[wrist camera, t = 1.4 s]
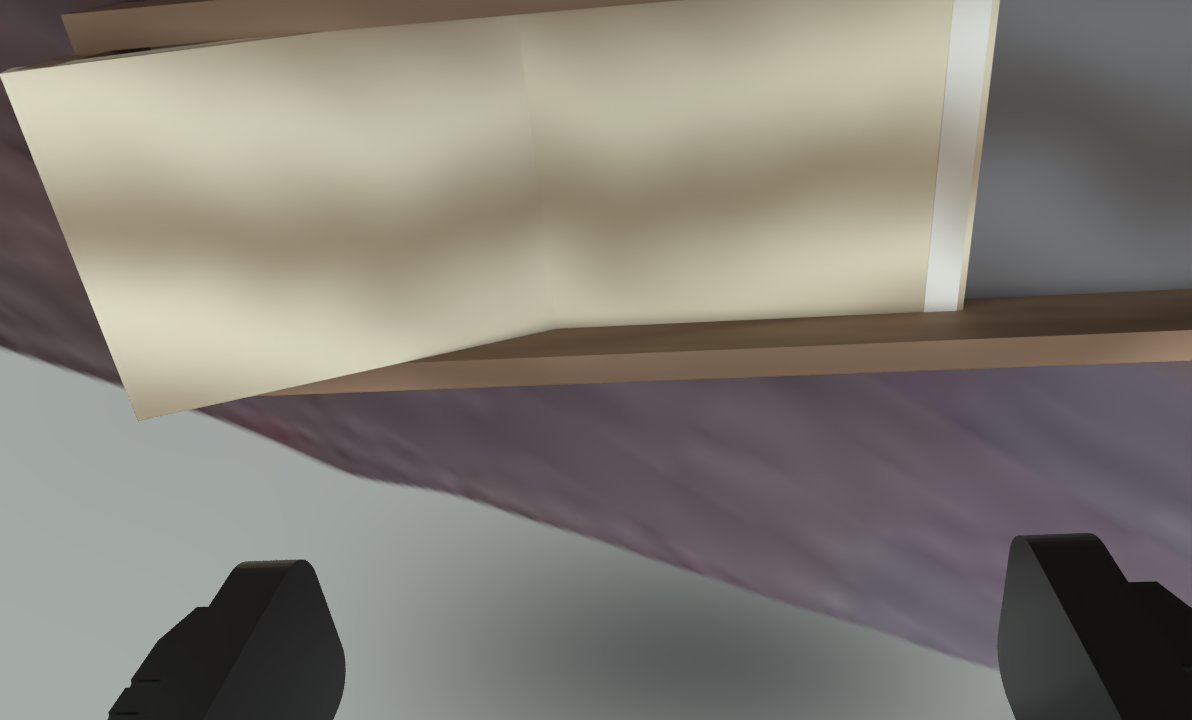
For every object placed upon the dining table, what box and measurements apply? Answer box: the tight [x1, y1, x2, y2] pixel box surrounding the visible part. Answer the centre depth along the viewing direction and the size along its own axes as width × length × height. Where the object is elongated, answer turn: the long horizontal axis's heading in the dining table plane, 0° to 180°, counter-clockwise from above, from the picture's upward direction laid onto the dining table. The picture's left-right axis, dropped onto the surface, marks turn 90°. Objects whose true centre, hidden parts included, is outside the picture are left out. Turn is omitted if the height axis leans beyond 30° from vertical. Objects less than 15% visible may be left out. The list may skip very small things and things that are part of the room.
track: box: [0, 0, 1192, 421], centre depth 24 cm, size 12×35×6 cm, turn 95°
